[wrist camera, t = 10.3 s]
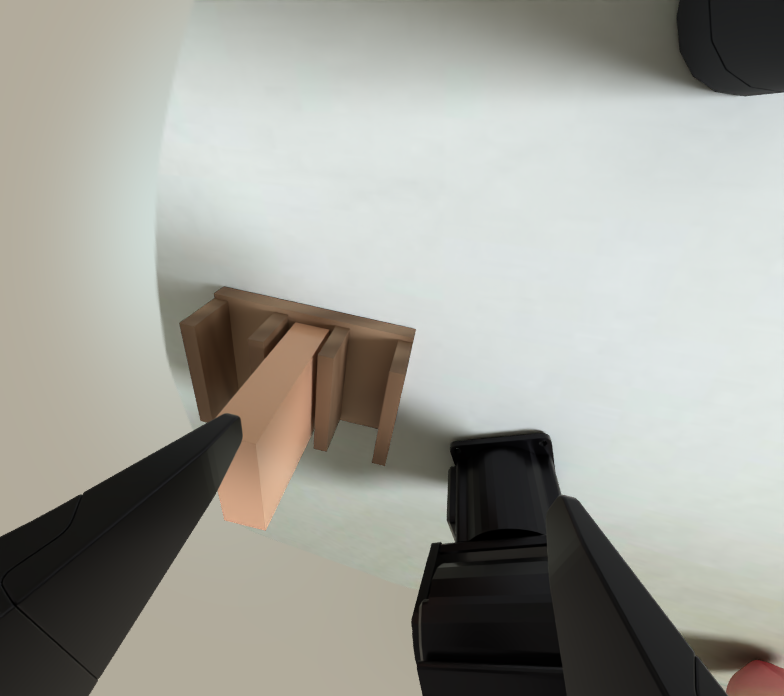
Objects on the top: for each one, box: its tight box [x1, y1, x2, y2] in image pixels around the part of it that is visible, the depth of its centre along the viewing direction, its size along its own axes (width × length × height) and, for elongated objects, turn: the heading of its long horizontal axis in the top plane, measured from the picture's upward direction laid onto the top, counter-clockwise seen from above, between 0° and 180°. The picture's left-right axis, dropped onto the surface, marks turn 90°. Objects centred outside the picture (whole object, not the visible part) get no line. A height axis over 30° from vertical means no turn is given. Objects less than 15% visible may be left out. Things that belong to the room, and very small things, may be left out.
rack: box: [179, 287, 416, 466], centre depth 21 cm, size 12×8×4 cm, turn 81°
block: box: [216, 322, 329, 531], centre depth 18 cm, size 2×6×8 cm, turn 172°
